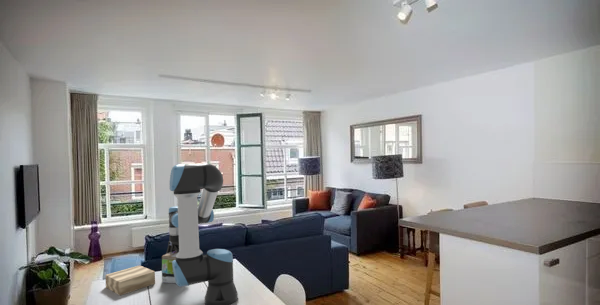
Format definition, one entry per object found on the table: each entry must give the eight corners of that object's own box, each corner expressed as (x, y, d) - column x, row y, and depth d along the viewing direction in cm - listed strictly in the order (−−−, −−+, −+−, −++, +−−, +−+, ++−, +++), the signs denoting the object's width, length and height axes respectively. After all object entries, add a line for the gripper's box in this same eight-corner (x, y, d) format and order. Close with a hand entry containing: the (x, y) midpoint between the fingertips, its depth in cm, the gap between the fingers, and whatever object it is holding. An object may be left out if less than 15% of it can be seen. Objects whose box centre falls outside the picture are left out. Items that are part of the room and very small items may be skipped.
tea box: (177, 283, 172) (177, 256, 173) (161, 282, 175) (160, 255, 175) (193, 273, 187) (192, 248, 187) (177, 272, 189) (177, 247, 190)
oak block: (155, 284, 174) (154, 271, 174) (119, 296, 160) (119, 282, 160) (139, 277, 185) (139, 265, 185) (105, 287, 171) (105, 274, 171)
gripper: (195, 234, 177) (196, 273, 177) (170, 230, 192) (171, 266, 191) (183, 237, 171) (184, 278, 171) (158, 232, 186) (159, 270, 185)
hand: (177, 271), depth 181 cm, fingers closed on tea box, 12 cm apart
